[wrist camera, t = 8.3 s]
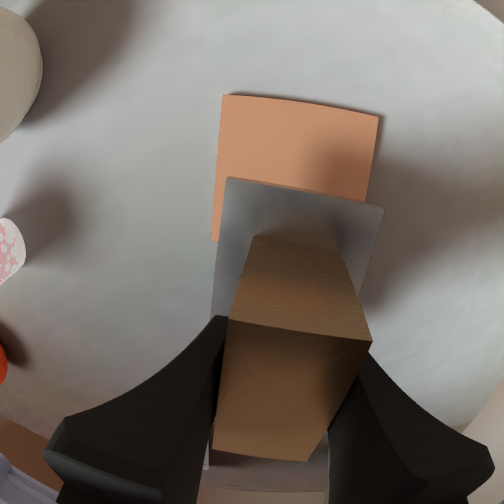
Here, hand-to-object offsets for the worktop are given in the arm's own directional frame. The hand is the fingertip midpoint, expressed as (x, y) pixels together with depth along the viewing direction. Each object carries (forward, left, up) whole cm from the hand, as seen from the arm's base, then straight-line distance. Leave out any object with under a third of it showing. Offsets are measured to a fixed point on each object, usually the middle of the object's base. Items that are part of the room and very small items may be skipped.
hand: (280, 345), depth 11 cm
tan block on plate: (0, 0, -3) cm, 3 cm away
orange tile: (+1, 0, -8) cm, 8 cm away
